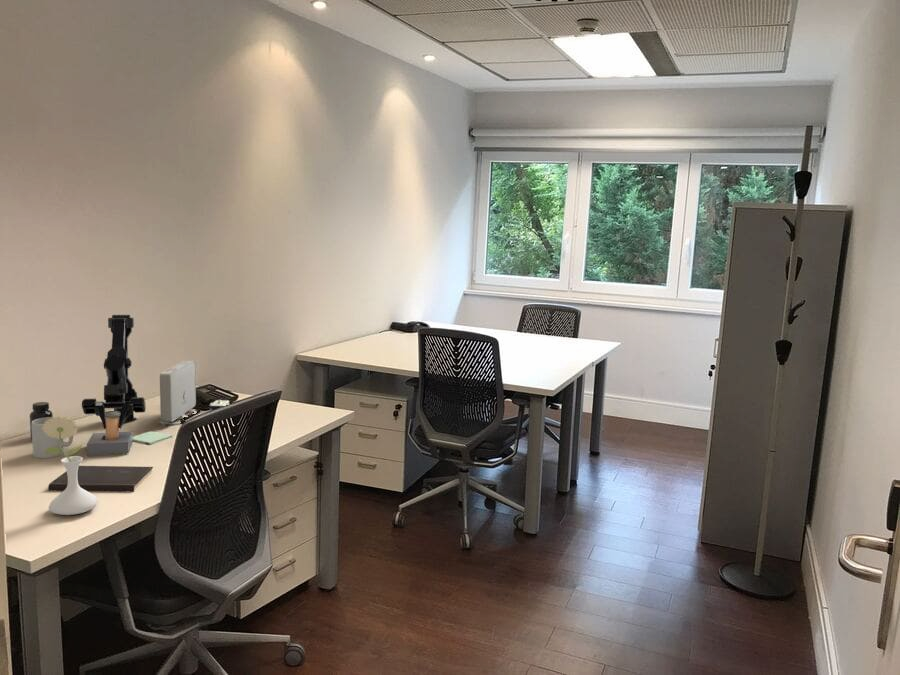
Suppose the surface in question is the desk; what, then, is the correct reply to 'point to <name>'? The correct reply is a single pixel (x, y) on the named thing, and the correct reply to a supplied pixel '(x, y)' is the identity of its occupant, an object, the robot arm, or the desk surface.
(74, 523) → the desk surface
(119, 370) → the robot arm
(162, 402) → the network device
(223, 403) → the pneumatic valve
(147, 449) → the desk surface
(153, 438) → the mat
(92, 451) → the grey peg hole block
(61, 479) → the hardcover book
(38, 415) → the supplement bottle
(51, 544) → the desk surface
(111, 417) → the plug
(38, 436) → the mug
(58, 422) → the flower in vase
